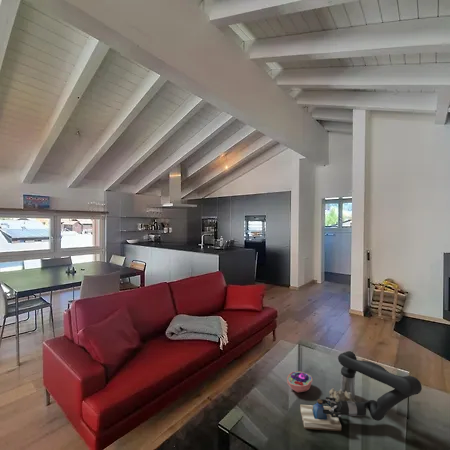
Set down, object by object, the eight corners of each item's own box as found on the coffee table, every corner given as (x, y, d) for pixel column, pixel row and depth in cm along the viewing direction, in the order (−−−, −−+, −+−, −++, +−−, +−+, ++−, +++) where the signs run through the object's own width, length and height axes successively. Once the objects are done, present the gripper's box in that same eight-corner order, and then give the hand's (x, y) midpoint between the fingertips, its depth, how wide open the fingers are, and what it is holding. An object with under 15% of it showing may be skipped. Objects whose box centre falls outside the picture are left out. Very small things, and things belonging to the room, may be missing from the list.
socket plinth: (300, 410, 179) (300, 404, 179) (333, 412, 177) (333, 406, 177) (304, 428, 165) (304, 422, 164) (341, 431, 162) (341, 425, 162)
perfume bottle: (322, 414, 174) (322, 397, 173) (326, 422, 168) (326, 404, 167) (313, 414, 174) (313, 397, 173) (316, 422, 168) (316, 404, 167)
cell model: (281, 386, 204) (281, 371, 203) (302, 378, 212) (302, 365, 212) (296, 400, 189) (296, 385, 188) (317, 391, 197) (317, 377, 196)
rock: (359, 414, 175) (358, 391, 175) (333, 414, 176) (332, 391, 176) (350, 398, 190) (349, 378, 191) (326, 398, 192) (325, 378, 192)
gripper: (344, 394, 175) (318, 392, 177) (351, 411, 161) (324, 409, 163) (343, 405, 176) (318, 403, 177) (351, 422, 162) (324, 420, 163)
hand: (321, 406), depth 170 cm, fingers open, 8 cm apart
